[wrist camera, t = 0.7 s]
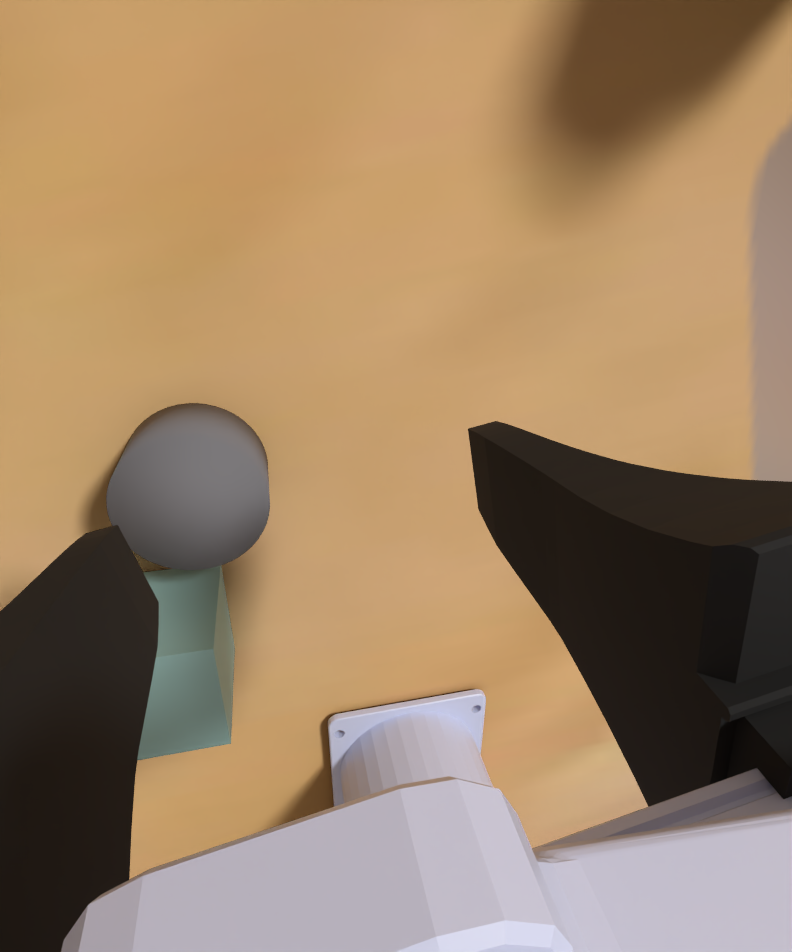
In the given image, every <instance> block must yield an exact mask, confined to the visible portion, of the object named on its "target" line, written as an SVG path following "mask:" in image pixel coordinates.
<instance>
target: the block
mask: <svg viewBox="0 0 792 952" xmlns="http://www.w3.org/2000/svg"><path fill="white" fill-rule="evenodd" d="M143 573H144V575H145V577H146V579H147V581H148V583H149V585H150V587H151V588H152V590H153V592H154V594H155V596H156V598H157V600H158V602H159V629H158V648H157V654H156V660H155V665H154V671H153V677H152V682H151V688H150V693H149V698H148V703H147V709H146V714H145V719H144V725H143V730H142V735H141V740H140V746H139V751H138V758H137V760H142V759H147V758H153V757H158V756H164V755H170V754H175V753H181V752H186V751H192V750H197V749H203V748H209V747H214V746H220V745H225V744H231V729H232V704H233V680H234V655H235V646H234V640H233V634H232V628H231V622H230V616H229V610H228V603H227V597H226V591H225V585H224V579H223V573H222V567H221V565H220V566H217V567H213V568H208V569H203V570H179V569H166V570H158V571H150V572H143Z"/></svg>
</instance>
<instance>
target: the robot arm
mask: <svg viewBox="0 0 792 952" xmlns="http://www.w3.org/2000/svg"><path fill="white" fill-rule="evenodd" d="M468 432H469V440H470V447H471V455H472V463H473V470H474V478H475V486H476V493H477V501H478V509H479V511H480V513H481V515H482V517H483V519H484V521H485V523H486V525H487V527H488V529H489V531H490V533H491V535H492V537H493V539H494V541H495V543H496V545H497V546H498V548H499V549H500V551H501V552H502V554H503V555H504V556H505V558H506V559H507V561H508V562H509V564H510V565H511V566H512V568H513V569H514V571H515V572H516V574H517V575H518V576H519V578H520V579H521V581H522V582H523V583H524V585H525V586H526V588H527V589H528V590H529V592H530V593H531V595H532V596H533V597H534V599H535V600H536V602H537V603H538V604H539V606H540V607H541V609H542V610H543V611H544V613H545V614H546V616H547V617H548V618H549V620H550V621H551V623H552V624H553V626H554V627H555V629H556V631H557V632H558V634H559V635H560V637H561V638H562V640H563V642H564V644H565V645H566V647H567V649H568V651H569V653H570V654H571V656H572V658H573V660H574V662H575V663H576V665H577V667H578V669H579V671H580V672H581V674H582V676H583V678H584V680H585V682H586V684H587V685H588V687H589V689H590V691H591V693H592V695H593V697H594V699H595V700H596V702H597V704H598V706H599V708H600V710H601V712H602V714H603V716H604V717H605V719H606V721H607V723H608V725H609V727H610V729H611V731H612V733H613V735H614V737H615V739H616V741H617V743H618V745H619V747H620V749H621V751H622V753H623V755H624V757H625V759H626V761H627V763H628V765H629V767H630V769H631V771H632V773H633V775H634V777H635V779H636V781H637V783H638V785H639V787H640V790H641V792H642V794H643V796H644V798H645V800H646V802H647V804H648V806H649V807H647V808H644V809H641V810H638V811H635V812H633V813H630V814H627V815H624V816H621V817H619V818H616V819H613V820H610V821H608V822H605V823H602V824H599V825H596V826H594V827H591V828H588V829H585V830H583V831H580V832H577V833H574V834H571V835H569V836H566V837H563V838H560V839H557V840H555V841H552V842H549V843H546V844H544V845H541V846H538V847H535V848H531V846H530V843H529V841H528V839H527V836H526V834H525V831H524V829H523V827H522V824H521V822H520V819H519V817H518V815H517V813H516V812H515V810H514V809H513V807H512V806H511V804H510V803H509V802H508V800H507V799H506V797H505V796H504V795H503V793H502V792H501V790H500V789H498V788H494V787H493V785H492V783H491V780H490V778H489V775H488V773H487V770H486V768H485V765H484V763H483V760H482V758H481V745H482V735H483V724H484V714H485V704H486V697H485V695H484V693H483V691H482V690H479V689H474V690H469V691H463V692H457V693H452V694H446V695H440V696H435V697H429V698H423V699H418V700H412V701H406V702H401V703H395V704H390V705H384V706H378V707H373V708H367V709H361V710H356V711H350V712H344V713H339V714H335V715H333V716H331V717H330V718H329V720H328V733H329V747H330V760H331V774H332V787H333V801H334V807H332V808H329V809H326V810H323V811H320V812H317V813H314V814H311V815H308V816H305V817H302V818H299V819H296V820H293V821H290V822H287V823H284V824H281V825H278V826H275V827H273V828H270V829H267V830H264V831H261V832H258V833H255V834H252V835H249V836H246V837H243V838H240V839H237V840H234V841H231V842H228V843H225V844H222V845H219V846H216V847H213V848H210V849H207V850H204V851H202V852H199V853H196V854H193V855H190V856H187V857H184V858H181V859H178V860H175V861H172V862H169V863H166V864H163V865H160V866H157V867H154V868H151V869H149V870H147V871H145V872H143V873H141V874H139V875H137V876H135V877H134V878H132V879H130V880H129V871H130V848H131V826H132V812H133V798H134V784H135V773H136V765H137V758H138V751H139V746H140V740H141V735H142V730H143V725H144V719H145V714H146V709H147V703H148V698H149V693H150V688H151V682H152V677H153V671H154V665H155V660H156V654H157V648H158V629H159V602H158V600H157V598H156V596H155V594H154V592H153V590H152V588H151V587H150V585H149V583H148V581H147V579H146V577H145V575H144V573H143V571H142V570H141V568H140V566H139V564H138V562H137V560H136V558H135V556H134V555H133V553H132V551H131V549H130V547H129V545H128V543H127V541H126V539H125V538H124V536H123V534H122V532H121V530H120V528H119V526H118V525H115V526H111V527H108V528H104V529H100V530H97V531H93V532H89V533H86V534H85V535H83V536H82V537H81V538H79V539H78V540H77V541H75V542H74V543H73V544H72V545H71V546H70V547H68V548H67V549H66V550H65V551H64V552H63V553H62V554H61V555H60V556H59V557H58V558H57V559H55V560H54V561H53V562H52V563H51V564H50V565H49V566H48V567H47V568H46V569H45V570H44V571H43V572H42V573H41V574H40V575H39V576H38V577H37V578H35V579H34V580H33V581H32V582H31V583H30V584H29V585H28V586H27V587H26V588H25V589H24V590H23V591H22V592H21V593H20V594H19V595H18V596H17V597H16V598H14V599H13V600H12V601H11V602H10V603H9V604H8V605H7V606H6V607H5V608H4V609H2V610H1V611H0V952H792V482H783V481H782V482H781V481H780V482H779V481H759V480H742V479H728V478H718V477H709V476H701V475H692V474H684V473H677V472H671V471H665V470H659V469H654V468H649V467H644V466H639V465H634V464H630V463H626V462H621V461H617V460H613V459H610V458H606V457H603V456H599V455H596V454H592V453H589V452H585V451H582V450H579V449H576V448H573V447H570V446H567V445H564V444H561V443H558V442H555V441H552V440H550V439H547V438H544V437H541V436H539V435H536V434H533V433H530V432H528V431H525V430H522V429H520V428H517V427H514V426H511V425H508V424H505V423H501V422H497V421H495V422H491V423H487V424H484V425H480V426H476V427H473V428H469V429H468ZM339 730H341V731H339Z"/></svg>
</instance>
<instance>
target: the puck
mask: <svg viewBox="0 0 792 952" xmlns="http://www.w3.org/2000/svg"><path fill="white" fill-rule="evenodd" d="M106 500H107V511H108V516H109V519H110V521H111V524H112V526H115V525H118V526H119V528H120V530H121V532H122V534H123V536H124V538H125V539H126V541H127V543H128V545H129V547H130V549H131V550H132V551H134V552H135V553H136V554H138V555H139V556H141V557H143V558H144V559H146V560H148V561H150V562H152V563H155V564H158V565H161V566H164V567H168V568H172V569H179V570H203V569H208V568H213V567H217V566H220V565H223V564H226V563H228V562H230V561H232V560H234V559H236V558H238V557H239V556H241V555H242V554H244V553H245V552H246V551H247V550H248V549H250V548H251V547H252V546H253V545H254V543H255V542H256V541H257V540H258V539H259V537H260V535H261V534H262V532H263V530H264V528H265V526H266V524H267V520H268V516H269V509H270V499H269V480H268V462H267V456H266V452H265V449H264V446H263V444H262V442H261V440H260V439H259V437H258V436H257V434H256V433H255V431H254V430H253V429H252V428H251V427H250V426H249V425H248V424H247V423H246V422H245V421H243V420H242V419H241V418H239V417H238V416H236V415H235V414H233V413H231V412H229V411H227V410H224V409H222V408H219V407H216V406H211V405H207V404H198V403H189V404H180V405H175V406H171V407H167V408H165V409H162V410H160V411H158V412H156V413H154V414H153V415H151V416H150V417H148V418H147V419H146V420H144V421H143V422H142V423H141V424H140V425H139V426H138V427H137V429H136V430H135V431H134V433H133V434H132V436H131V438H130V440H129V442H128V444H127V446H126V448H125V450H124V452H123V454H122V456H121V458H120V460H119V462H118V464H117V467H116V469H115V471H114V473H113V475H112V477H111V479H110V482H109V485H108V490H107V496H106Z"/></svg>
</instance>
